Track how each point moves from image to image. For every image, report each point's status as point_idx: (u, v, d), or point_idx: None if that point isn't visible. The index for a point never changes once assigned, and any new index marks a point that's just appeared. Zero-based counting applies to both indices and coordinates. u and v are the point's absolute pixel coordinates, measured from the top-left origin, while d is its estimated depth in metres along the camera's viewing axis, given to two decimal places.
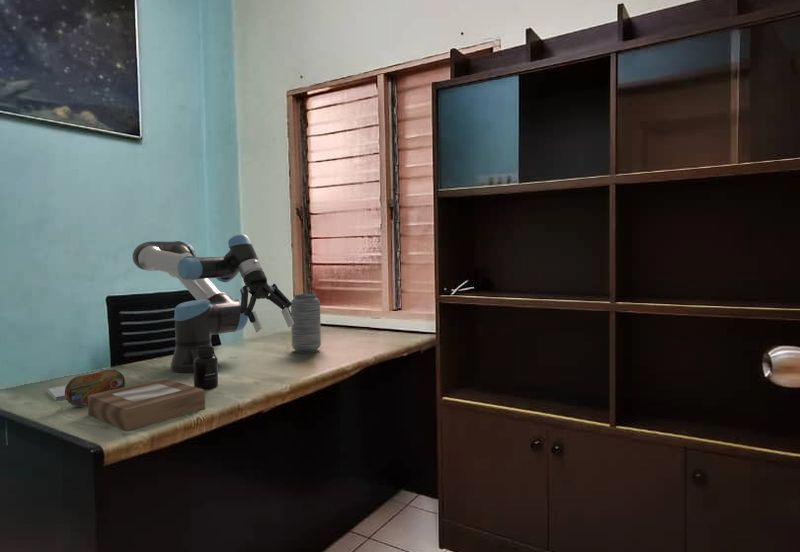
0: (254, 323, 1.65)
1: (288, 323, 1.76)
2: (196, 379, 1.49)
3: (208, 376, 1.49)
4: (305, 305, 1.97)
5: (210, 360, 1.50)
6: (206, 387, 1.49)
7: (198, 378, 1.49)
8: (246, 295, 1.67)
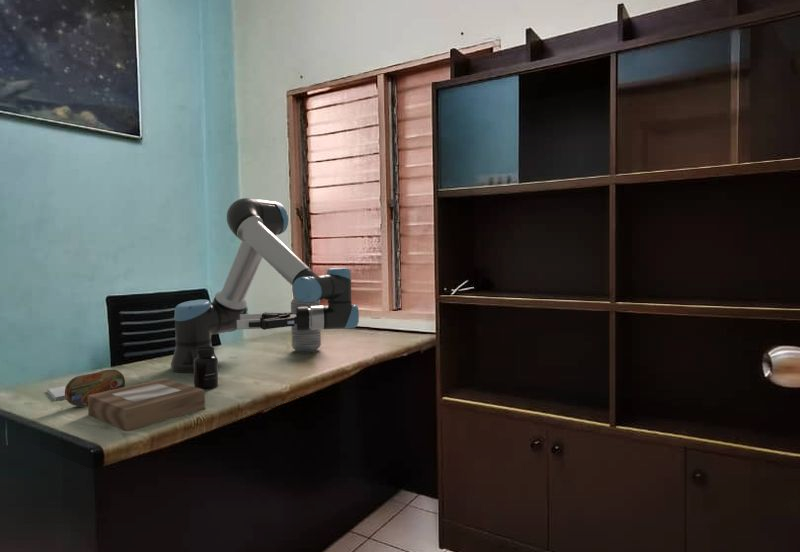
0: (246, 323, 1.47)
1: (243, 317, 1.60)
2: (196, 379, 1.49)
3: (208, 376, 1.49)
4: (305, 305, 1.97)
5: (210, 360, 1.50)
6: (206, 387, 1.49)
7: (198, 378, 1.49)
8: None
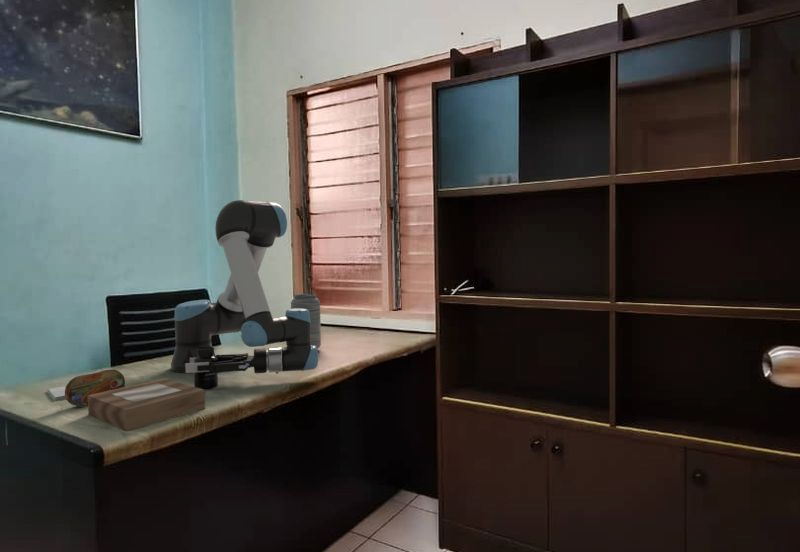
0: (195, 366, 1.48)
1: (193, 361, 1.54)
2: (196, 379, 1.49)
3: (208, 376, 1.49)
4: (305, 305, 1.97)
5: None
6: (206, 387, 1.49)
7: (198, 378, 1.49)
8: None
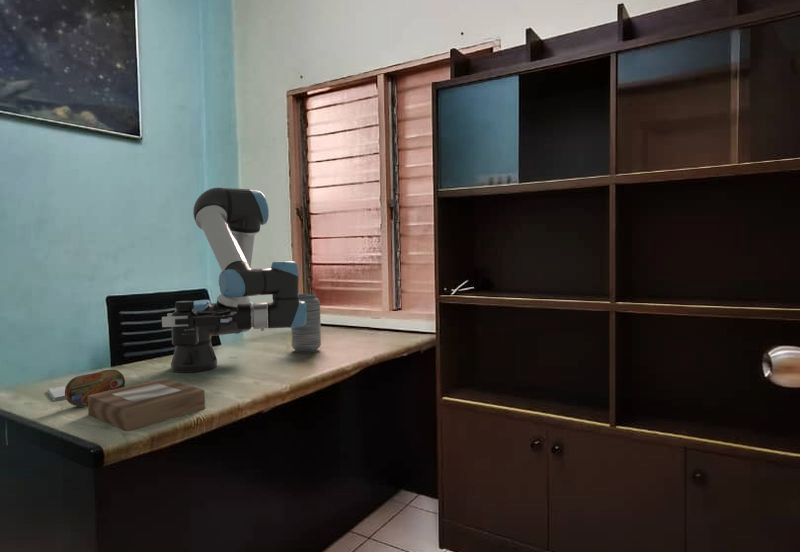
0: (173, 320, 1.36)
1: (171, 316, 1.42)
2: (174, 334, 1.38)
3: (187, 331, 1.38)
4: None
5: None
6: (185, 343, 1.37)
7: (176, 333, 1.37)
8: None
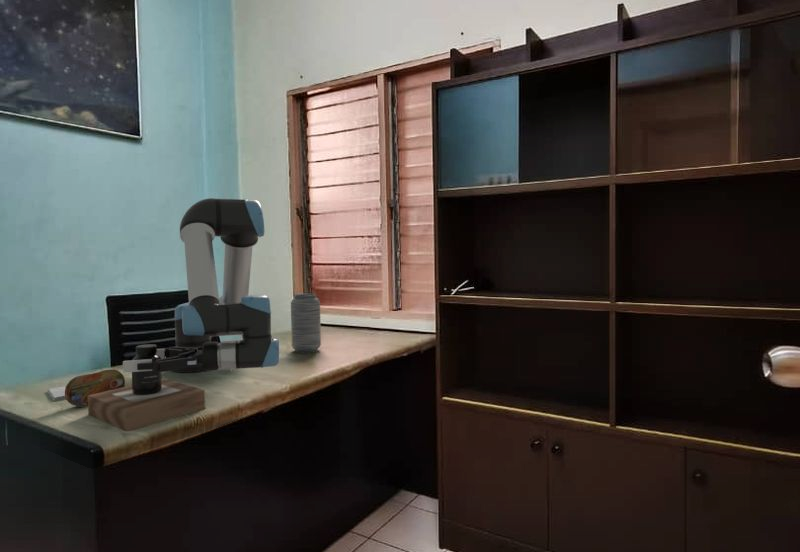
0: (135, 364, 1.22)
1: None
2: (133, 382, 1.27)
3: (148, 378, 1.27)
4: (304, 305, 1.97)
5: None
6: (145, 392, 1.27)
7: (136, 381, 1.27)
8: None
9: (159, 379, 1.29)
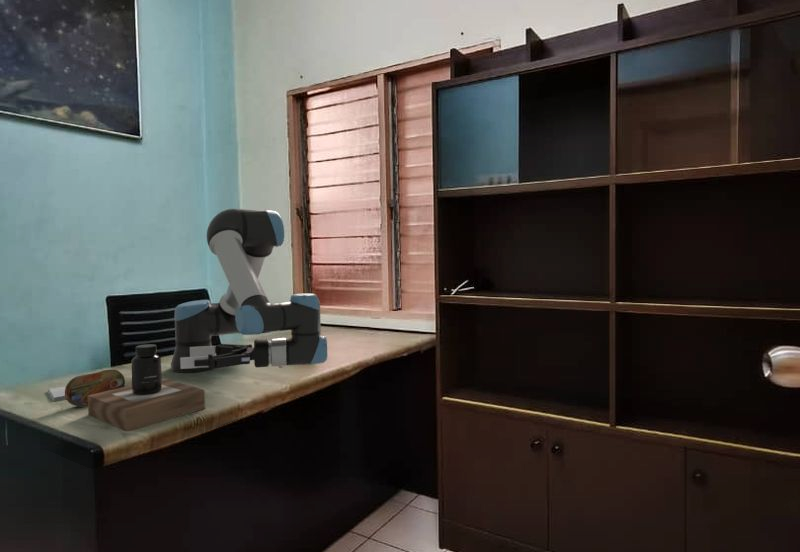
0: (192, 361, 1.25)
1: (193, 350, 1.38)
2: (133, 382, 1.27)
3: (148, 378, 1.27)
4: None
5: (150, 360, 1.27)
6: (145, 392, 1.27)
7: (136, 381, 1.27)
8: None
9: (159, 379, 1.29)
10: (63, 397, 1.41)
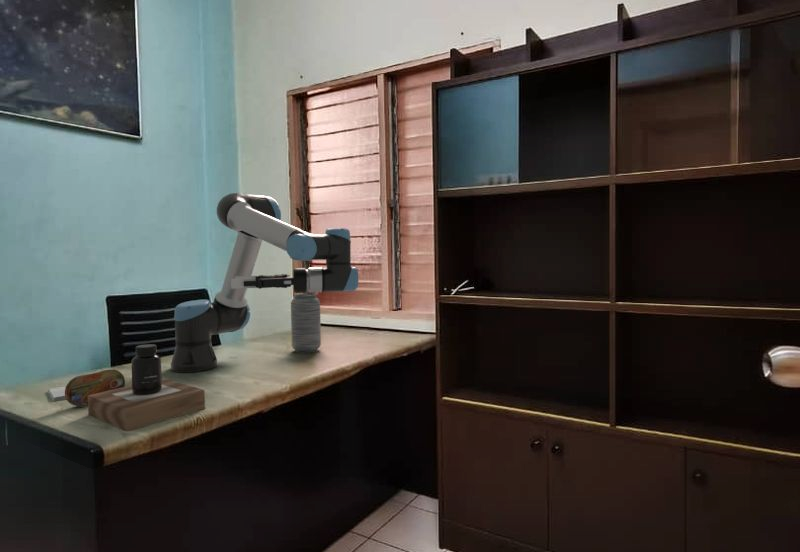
0: (241, 282, 1.41)
1: (238, 279, 1.54)
2: (133, 382, 1.27)
3: (148, 378, 1.27)
4: (305, 305, 1.97)
5: (151, 360, 1.27)
6: (146, 392, 1.27)
7: (136, 381, 1.27)
8: (277, 286, 1.44)
9: (159, 379, 1.29)
10: (63, 397, 1.41)
